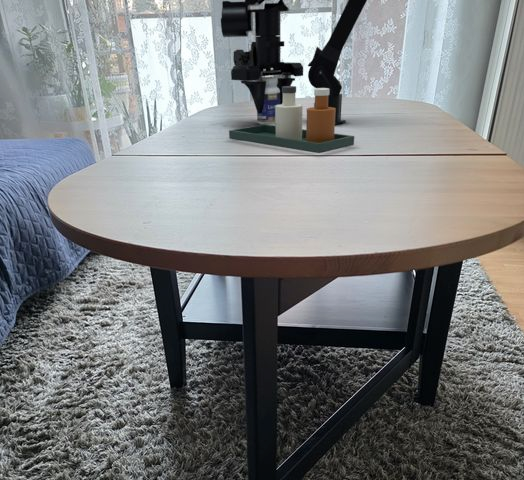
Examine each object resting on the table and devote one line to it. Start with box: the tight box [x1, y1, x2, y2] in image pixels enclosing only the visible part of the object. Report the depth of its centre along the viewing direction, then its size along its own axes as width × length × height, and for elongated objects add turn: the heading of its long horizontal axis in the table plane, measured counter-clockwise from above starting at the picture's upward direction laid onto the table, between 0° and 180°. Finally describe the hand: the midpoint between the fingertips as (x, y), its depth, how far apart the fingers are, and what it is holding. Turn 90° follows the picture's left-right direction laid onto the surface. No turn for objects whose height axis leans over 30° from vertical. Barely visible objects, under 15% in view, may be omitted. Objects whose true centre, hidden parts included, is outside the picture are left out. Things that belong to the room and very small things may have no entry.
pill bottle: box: [256, 76, 280, 125], centre depth 121 cm, size 6×6×10 cm
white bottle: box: [275, 85, 304, 140], centre depth 98 cm, size 5×5×10 cm
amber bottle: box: [305, 88, 336, 143], centre depth 93 cm, size 5×5×10 cm
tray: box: [228, 124, 355, 154], centre depth 100 cm, size 10×24×2 cm, turn 44°
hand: (268, 111), depth 123 cm, fingers closed on pill bottle, 6 cm apart
